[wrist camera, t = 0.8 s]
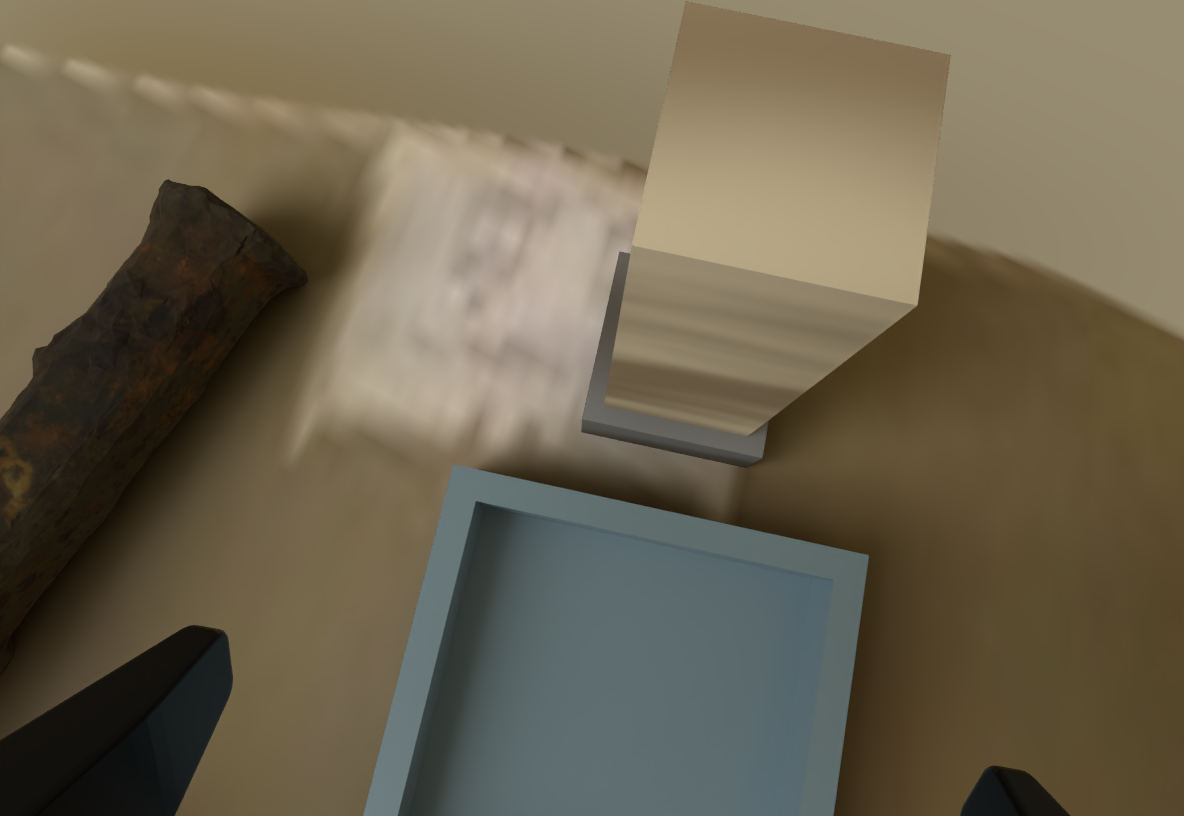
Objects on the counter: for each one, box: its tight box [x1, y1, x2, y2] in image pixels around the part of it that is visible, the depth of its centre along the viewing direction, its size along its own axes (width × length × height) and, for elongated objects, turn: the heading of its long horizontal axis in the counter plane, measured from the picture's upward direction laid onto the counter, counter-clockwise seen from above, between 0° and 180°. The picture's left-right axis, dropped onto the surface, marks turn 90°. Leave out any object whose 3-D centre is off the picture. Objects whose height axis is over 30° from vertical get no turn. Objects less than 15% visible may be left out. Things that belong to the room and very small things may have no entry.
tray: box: [363, 464, 869, 816], centre depth 20 cm, size 11×11×2 cm
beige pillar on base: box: [582, 1, 951, 468], centre depth 17 cm, size 5×5×12 cm
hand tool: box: [0, 180, 308, 673], centre depth 20 cm, size 19×4×5 cm, turn 146°
